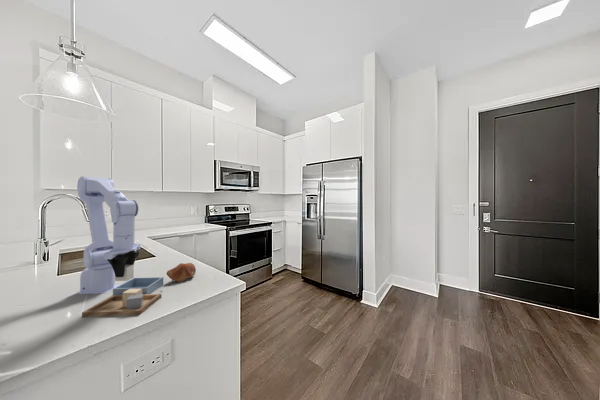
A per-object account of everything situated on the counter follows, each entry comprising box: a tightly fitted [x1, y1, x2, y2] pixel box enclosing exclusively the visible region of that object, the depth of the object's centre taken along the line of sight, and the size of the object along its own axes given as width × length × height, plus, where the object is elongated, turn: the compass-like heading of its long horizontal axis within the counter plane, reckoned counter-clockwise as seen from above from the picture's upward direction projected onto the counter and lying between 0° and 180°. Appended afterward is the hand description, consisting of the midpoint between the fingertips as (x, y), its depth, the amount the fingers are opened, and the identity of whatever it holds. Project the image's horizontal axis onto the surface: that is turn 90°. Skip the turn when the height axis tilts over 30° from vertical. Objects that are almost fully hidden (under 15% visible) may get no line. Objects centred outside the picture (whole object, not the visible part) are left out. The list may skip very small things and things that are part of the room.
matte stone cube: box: [127, 294, 143, 310], centre depth 70 cm, size 4×3×4 cm
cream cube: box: [122, 289, 142, 307], centre depth 73 cm, size 4×3×4 cm
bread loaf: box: [166, 262, 197, 283], centre depth 97 cm, size 13×8×10 cm
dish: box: [112, 276, 164, 295], centre depth 84 cm, size 11×11×4 cm
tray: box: [81, 293, 162, 318], centre depth 72 cm, size 16×12×2 cm
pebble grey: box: [115, 264, 135, 282], centre depth 77 cm, size 4×3×4 cm
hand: (123, 274), depth 77 cm, fingers closed on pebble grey, 3 cm apart
